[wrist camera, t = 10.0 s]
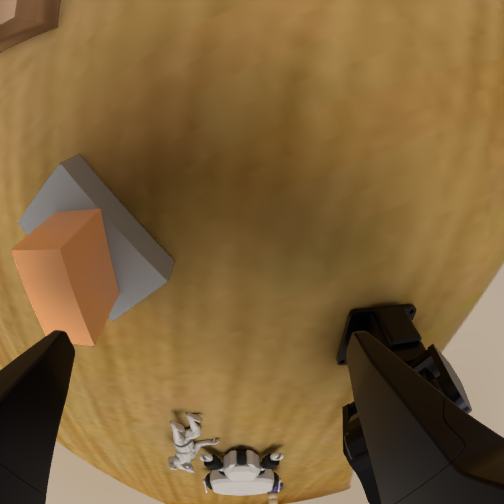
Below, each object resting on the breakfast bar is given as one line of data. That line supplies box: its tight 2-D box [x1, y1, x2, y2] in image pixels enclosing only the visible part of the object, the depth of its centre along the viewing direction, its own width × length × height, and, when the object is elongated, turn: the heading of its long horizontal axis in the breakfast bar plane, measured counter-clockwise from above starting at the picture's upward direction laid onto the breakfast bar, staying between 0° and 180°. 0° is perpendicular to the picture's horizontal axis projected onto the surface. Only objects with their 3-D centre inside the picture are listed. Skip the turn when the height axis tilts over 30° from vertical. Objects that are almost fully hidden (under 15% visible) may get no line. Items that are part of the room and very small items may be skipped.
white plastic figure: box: [168, 413, 220, 472], centre depth 31 cm, size 8×5×12 cm
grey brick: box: [18, 154, 175, 321], centre depth 18 cm, size 10×6×3 cm, turn 36°
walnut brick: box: [0, 0, 61, 52], centre depth 9 cm, size 6×3×5 cm, turn 89°
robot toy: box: [199, 450, 284, 496], centre depth 36 cm, size 12×4×15 cm
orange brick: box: [11, 209, 120, 346], centre depth 15 cm, size 6×3×5 cm, turn 179°
